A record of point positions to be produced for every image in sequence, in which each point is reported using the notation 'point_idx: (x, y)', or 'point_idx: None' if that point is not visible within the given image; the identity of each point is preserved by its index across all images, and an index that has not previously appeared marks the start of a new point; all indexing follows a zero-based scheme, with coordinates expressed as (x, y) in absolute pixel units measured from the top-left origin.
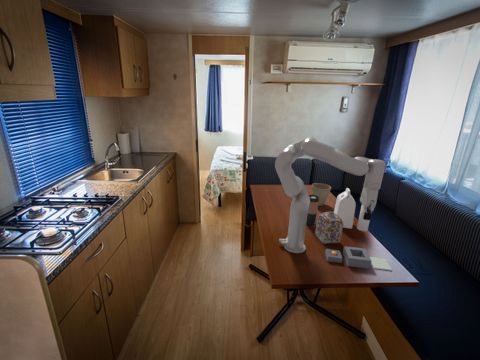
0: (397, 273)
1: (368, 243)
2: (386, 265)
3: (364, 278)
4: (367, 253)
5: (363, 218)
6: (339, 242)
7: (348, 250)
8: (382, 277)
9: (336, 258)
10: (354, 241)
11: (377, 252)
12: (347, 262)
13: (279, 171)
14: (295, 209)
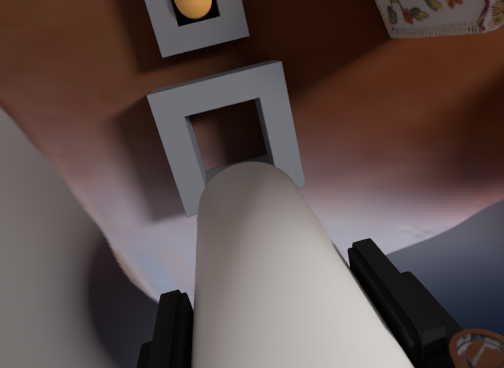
0: None
1: (433, 194)
2: None
3: (89, 174)
4: None
5: (162, 299)
6: (390, 35)
7: (236, 91)
8: (147, 246)
9: (151, 19)
10: (433, 124)
11: (358, 232)
12: (159, 89)
13: None
14: None
